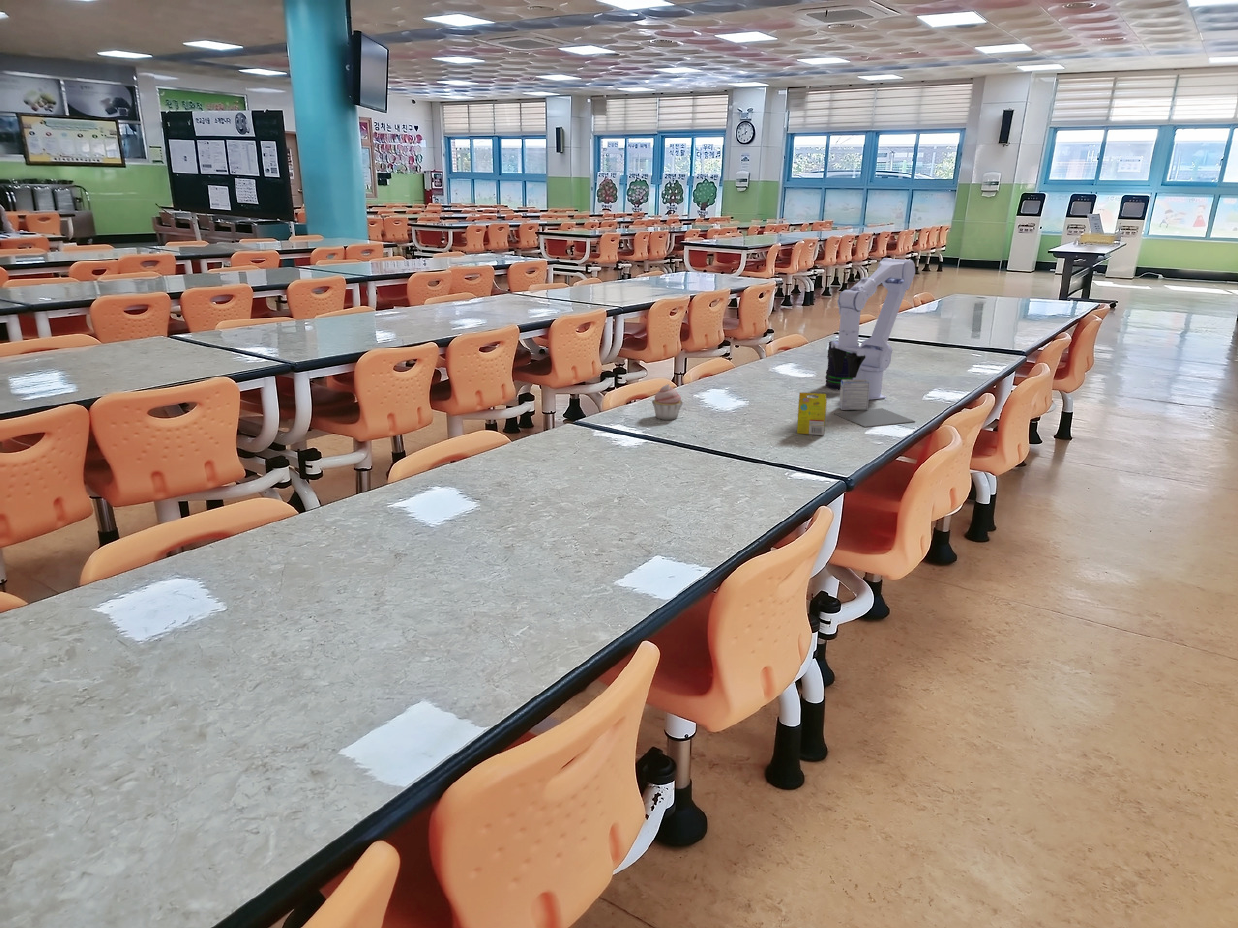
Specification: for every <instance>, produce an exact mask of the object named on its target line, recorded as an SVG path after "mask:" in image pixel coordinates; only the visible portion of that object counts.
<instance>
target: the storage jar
mask: <svg viewBox="0 0 1238 928" xmlns="http://www.w3.org/2000/svg"><path fill="white" fill-rule="evenodd" d="M832 341H833V340H831V341H828V349H827V368H826V370H825V371H826V372H825V385H824V386H825V388H827V389H830V390H835V391H836V390H837V391H840V388H841V380H853V378H849V376H848V361H847V357H846V356H845V358H844V362H843V368H842V372H840V373H835V372H834V366H833V361H832V358H831V355H830V353H829V350H832V349H833V348H831V342H832ZM835 341H838V339H837V340H835ZM859 344H860V343H859V342H858V346H859ZM859 347H860V346H859ZM851 354H852V353H850V352H847V353H846V355H851Z"/></svg>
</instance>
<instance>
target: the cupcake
mask: <svg viewBox="0 0 1238 928" xmlns="http://www.w3.org/2000/svg"><path fill="white" fill-rule="evenodd" d="M651 404H652V406H653V409H654V413H655V414H654V415H655V417H656V418H657V419H658V420H661V419H662V421H672V420H675V419H678V417H679V413H680V410H681V407H682V405H683V404H684V401H683V400H682V397H681V394H679V393H678V391H677V390H676V389H674V388H673V387H671V386H670V383H667V384H666V385H663V386H662V387H661V388H660V389H659V391H657V392H656V393H655V395H654V399H653V400H651Z"/></svg>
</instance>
